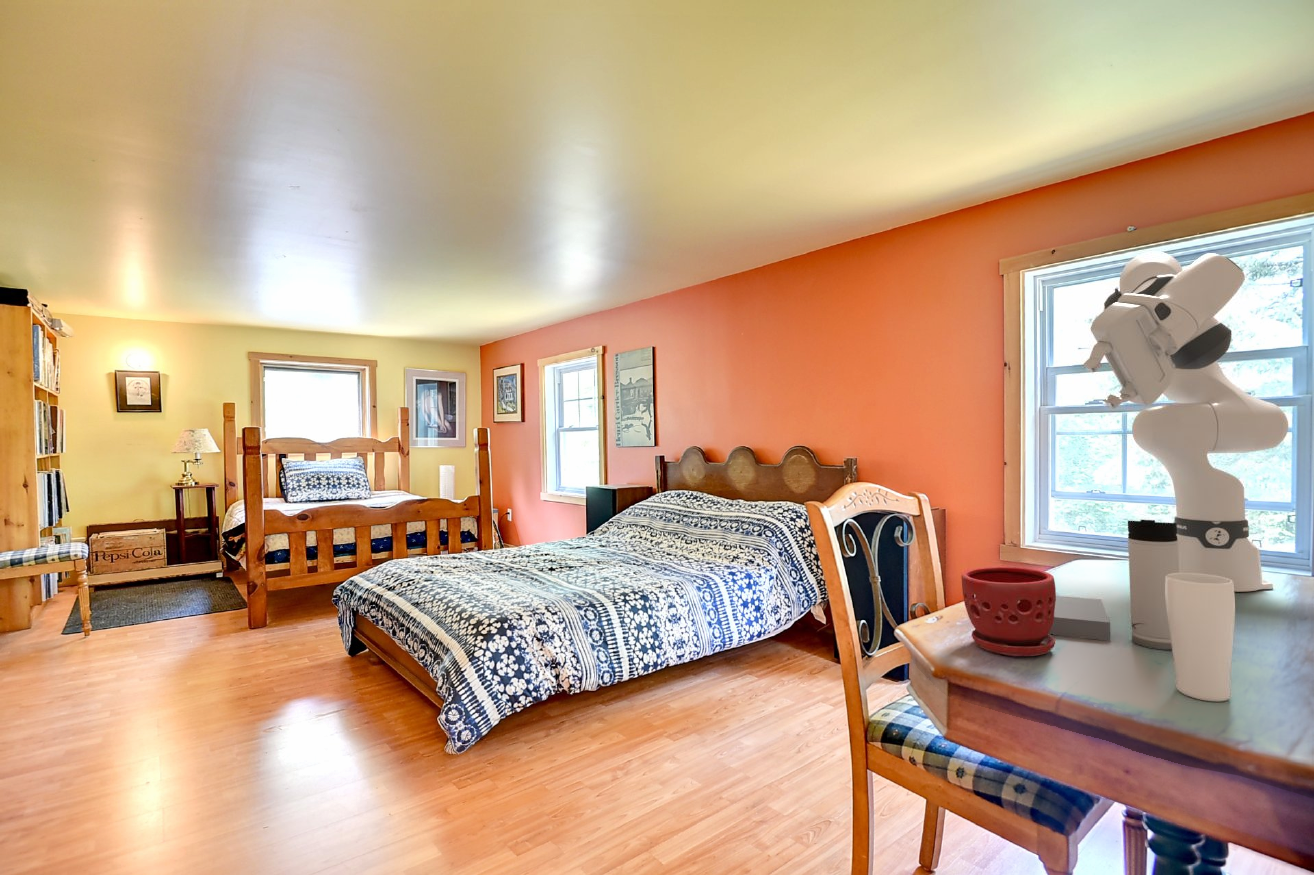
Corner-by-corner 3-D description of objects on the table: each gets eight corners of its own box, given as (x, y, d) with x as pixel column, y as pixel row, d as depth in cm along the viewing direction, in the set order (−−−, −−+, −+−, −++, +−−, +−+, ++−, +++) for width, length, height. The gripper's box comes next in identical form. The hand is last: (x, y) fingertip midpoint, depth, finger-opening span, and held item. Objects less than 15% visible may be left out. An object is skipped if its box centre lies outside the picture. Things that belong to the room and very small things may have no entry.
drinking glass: (1245, 696, 80) (1240, 578, 80) (1230, 710, 76) (1225, 586, 76) (1178, 680, 86) (1174, 570, 86) (1161, 693, 82) (1156, 578, 82)
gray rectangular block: (1014, 607, 123) (1013, 592, 123) (1101, 615, 116) (1101, 599, 116) (1011, 630, 110) (1011, 613, 110) (1110, 641, 102) (1109, 622, 102)
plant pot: (1013, 631, 109) (1010, 562, 109) (1079, 656, 96) (1076, 578, 96) (946, 639, 106) (943, 568, 106) (1005, 666, 93) (1002, 585, 93)
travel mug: (1127, 645, 100) (1122, 519, 100) (1136, 635, 105) (1132, 514, 105) (1177, 654, 96) (1172, 521, 96) (1185, 643, 100) (1180, 517, 100)
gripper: (1160, 368, 117) (1105, 421, 117) (1119, 286, 109) (1060, 343, 109) (1195, 375, 111) (1137, 431, 111) (1155, 290, 103) (1092, 350, 103)
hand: (1098, 387), depth 110 cm, fingers open, 8 cm apart
